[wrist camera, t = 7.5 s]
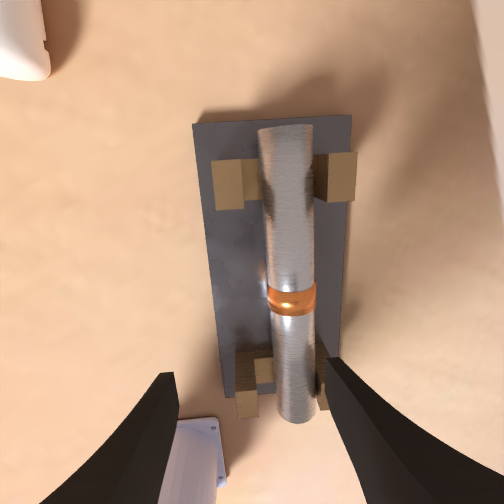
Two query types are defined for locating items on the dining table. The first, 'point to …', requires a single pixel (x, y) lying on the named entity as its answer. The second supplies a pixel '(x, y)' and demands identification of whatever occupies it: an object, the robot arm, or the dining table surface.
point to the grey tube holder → (254, 252)
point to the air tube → (290, 263)
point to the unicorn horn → (23, 41)
